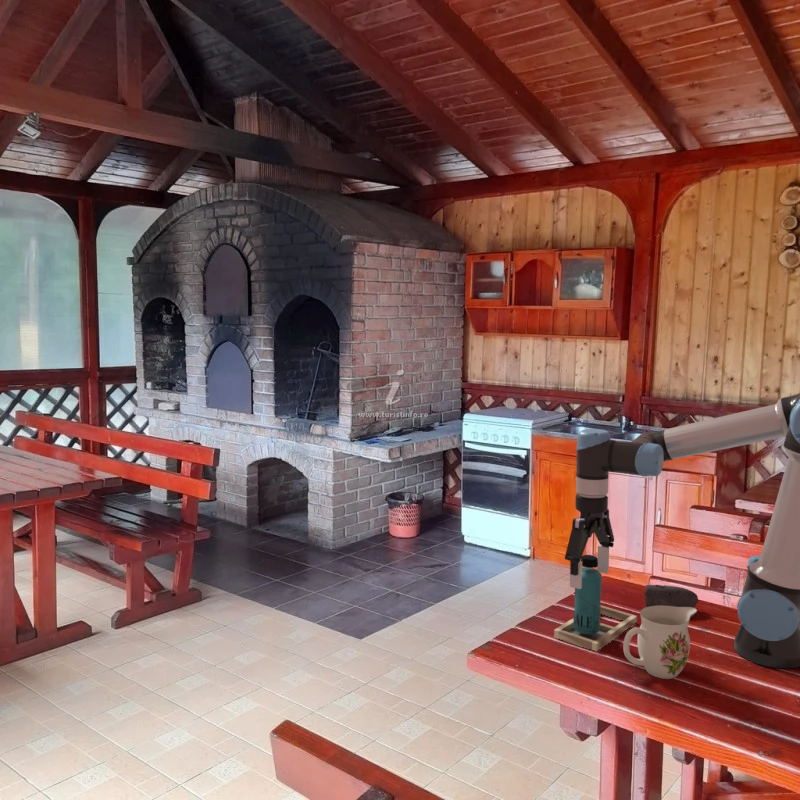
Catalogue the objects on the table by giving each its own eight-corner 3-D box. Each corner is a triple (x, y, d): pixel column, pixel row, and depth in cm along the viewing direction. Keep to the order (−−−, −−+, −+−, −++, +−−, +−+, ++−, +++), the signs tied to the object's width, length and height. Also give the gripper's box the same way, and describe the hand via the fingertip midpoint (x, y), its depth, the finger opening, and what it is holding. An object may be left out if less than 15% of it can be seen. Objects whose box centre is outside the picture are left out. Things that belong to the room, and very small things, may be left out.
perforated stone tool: (694, 607, 203) (695, 582, 202) (701, 615, 197) (703, 589, 196) (638, 606, 203) (639, 581, 202) (644, 614, 198) (645, 589, 197)
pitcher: (608, 666, 169) (611, 608, 168) (676, 655, 174) (680, 599, 173) (637, 690, 159) (640, 628, 157) (708, 678, 164) (712, 618, 162)
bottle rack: (596, 611, 199) (596, 603, 199) (636, 623, 192) (637, 615, 192) (553, 637, 184) (554, 629, 183) (596, 652, 176) (596, 644, 176)
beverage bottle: (597, 629, 187) (600, 552, 184) (602, 641, 180) (605, 561, 178) (571, 628, 187) (573, 551, 185) (574, 640, 181) (577, 560, 178)
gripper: (601, 482, 191) (599, 562, 194) (550, 501, 173) (549, 590, 175) (629, 487, 186) (627, 569, 189) (580, 507, 168) (578, 598, 170)
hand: (589, 579), depth 182 cm, fingers open, 13 cm apart
